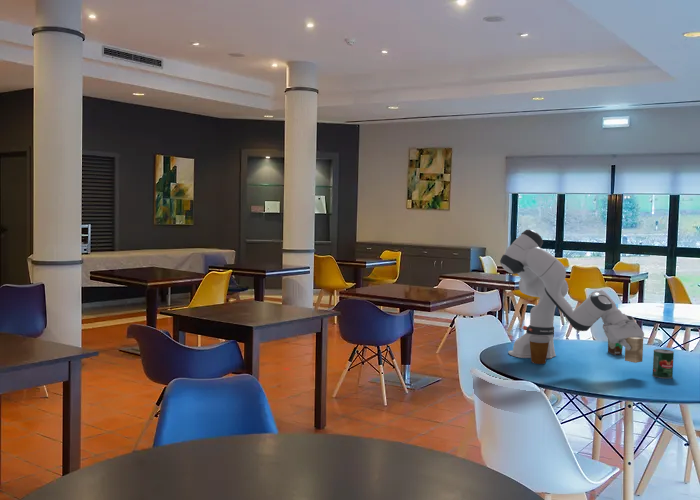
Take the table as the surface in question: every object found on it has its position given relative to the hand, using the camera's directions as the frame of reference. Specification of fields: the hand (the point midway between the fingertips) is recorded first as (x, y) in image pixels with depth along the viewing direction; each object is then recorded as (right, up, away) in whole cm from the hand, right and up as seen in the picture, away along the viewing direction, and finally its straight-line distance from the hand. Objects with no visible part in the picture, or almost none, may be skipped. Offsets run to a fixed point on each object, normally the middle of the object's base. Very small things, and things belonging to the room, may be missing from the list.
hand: (635, 348), depth 293 cm
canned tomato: (+12, -12, +2) cm, 18 cm away
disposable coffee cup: (-34, -10, +25) cm, 44 cm away
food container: (+13, -10, +53) cm, 55 cm away
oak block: (0, -5, +1) cm, 5 cm away
